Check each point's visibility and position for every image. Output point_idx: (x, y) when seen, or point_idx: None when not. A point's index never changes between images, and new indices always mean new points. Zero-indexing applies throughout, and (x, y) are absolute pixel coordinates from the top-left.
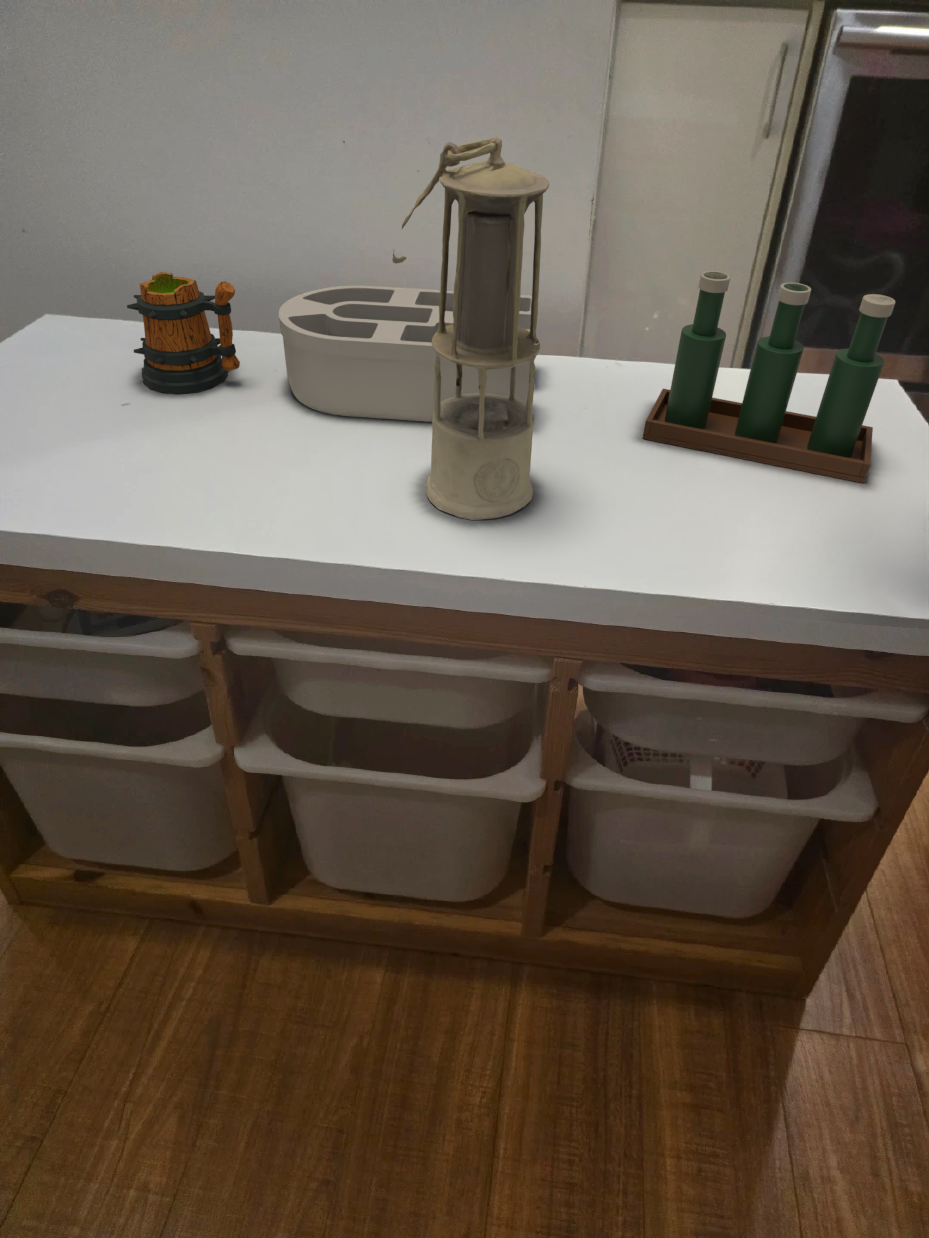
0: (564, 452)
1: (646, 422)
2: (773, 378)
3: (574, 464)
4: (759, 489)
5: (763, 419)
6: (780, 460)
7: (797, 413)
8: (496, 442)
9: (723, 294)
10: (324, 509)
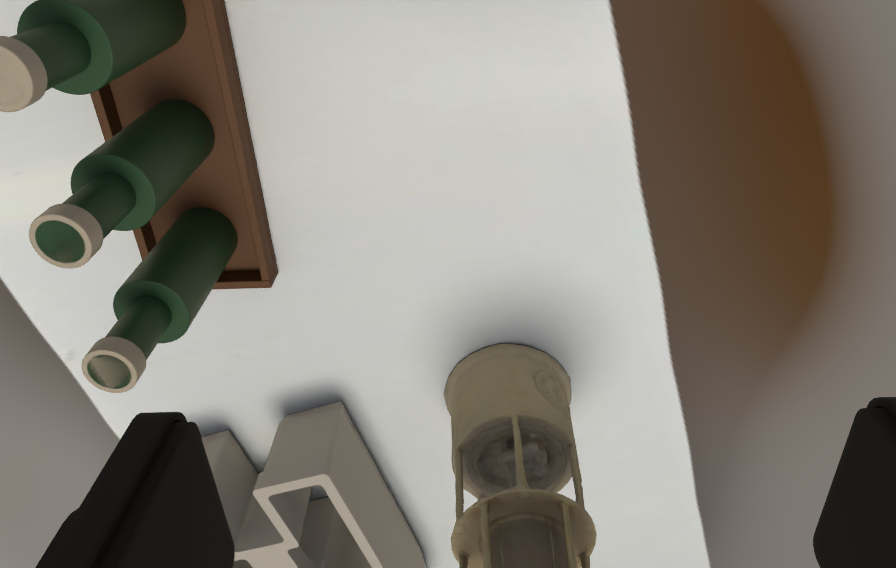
0: (371, 344)
1: (271, 285)
2: (171, 170)
3: (394, 326)
4: (327, 97)
5: (196, 142)
6: (236, 84)
7: None
8: (566, 431)
9: (123, 337)
10: (605, 491)
